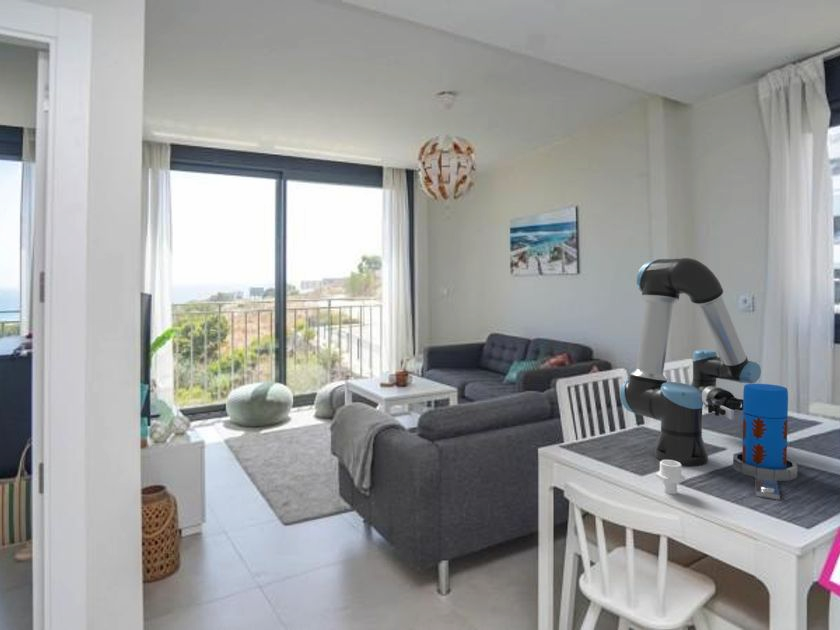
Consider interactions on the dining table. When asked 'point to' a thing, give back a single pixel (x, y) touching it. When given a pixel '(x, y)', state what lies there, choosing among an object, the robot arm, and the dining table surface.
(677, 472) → the pipe fitting
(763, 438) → the thermos
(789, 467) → the grey handled tray
